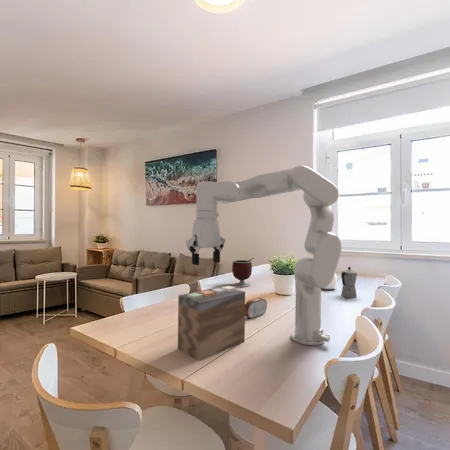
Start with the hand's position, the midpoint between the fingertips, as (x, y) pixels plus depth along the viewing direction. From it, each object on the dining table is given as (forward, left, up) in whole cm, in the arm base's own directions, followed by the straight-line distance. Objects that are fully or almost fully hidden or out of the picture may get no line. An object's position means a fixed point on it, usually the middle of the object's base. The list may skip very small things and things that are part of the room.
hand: (206, 263), depth 106 cm
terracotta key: (-1, 0, -13) cm, 13 cm away
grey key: (-1, -5, -13) cm, 14 cm away
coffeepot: (-5, -111, -30) cm, 116 cm away
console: (-1, -2, -30) cm, 30 cm away
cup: (+14, -121, -30) cm, 126 cm away
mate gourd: (+58, -84, -30) cm, 107 cm away
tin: (+9, -39, -31) cm, 51 cm away
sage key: (-1, +6, -13) cm, 14 cm away
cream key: (-1, -11, -13) cm, 16 cm away
